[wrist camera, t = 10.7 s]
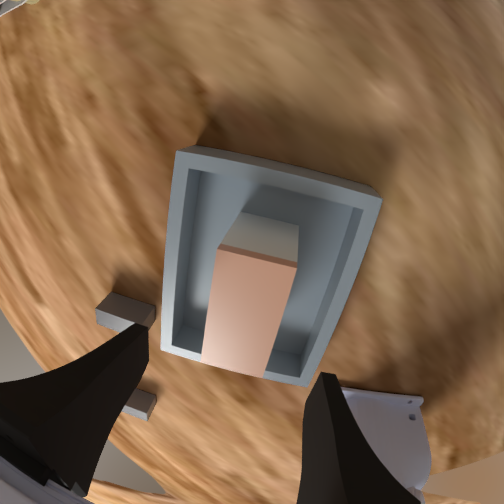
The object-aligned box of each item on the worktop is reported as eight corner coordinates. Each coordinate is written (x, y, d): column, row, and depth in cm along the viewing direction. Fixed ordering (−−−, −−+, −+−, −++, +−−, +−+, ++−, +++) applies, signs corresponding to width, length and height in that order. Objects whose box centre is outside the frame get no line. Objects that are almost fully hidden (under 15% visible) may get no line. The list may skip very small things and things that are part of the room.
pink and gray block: (298, 225, 18) (297, 268, 13) (272, 320, 21) (262, 378, 16) (240, 211, 18) (217, 248, 14) (222, 307, 21) (200, 362, 16)
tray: (370, 186, 17) (383, 199, 15) (308, 358, 23) (307, 387, 20) (195, 145, 18) (176, 150, 15) (174, 325, 24) (160, 349, 21)
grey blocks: (155, 306, 23) (141, 325, 21) (156, 403, 29) (147, 421, 26) (111, 291, 23) (95, 308, 21) (121, 390, 29) (112, 407, 27)
